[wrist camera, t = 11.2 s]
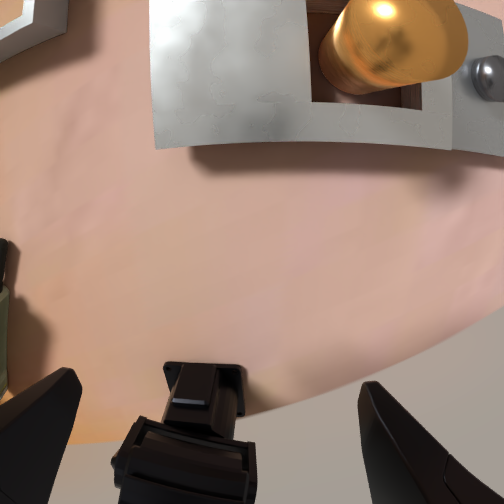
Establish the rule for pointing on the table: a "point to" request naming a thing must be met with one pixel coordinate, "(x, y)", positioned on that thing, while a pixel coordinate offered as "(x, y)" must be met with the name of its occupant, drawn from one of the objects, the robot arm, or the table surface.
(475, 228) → the table surface
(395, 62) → the gold metallic cylinder
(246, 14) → the grey panel with knob
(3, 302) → the handheld radio
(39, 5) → the grey rectangular frame
